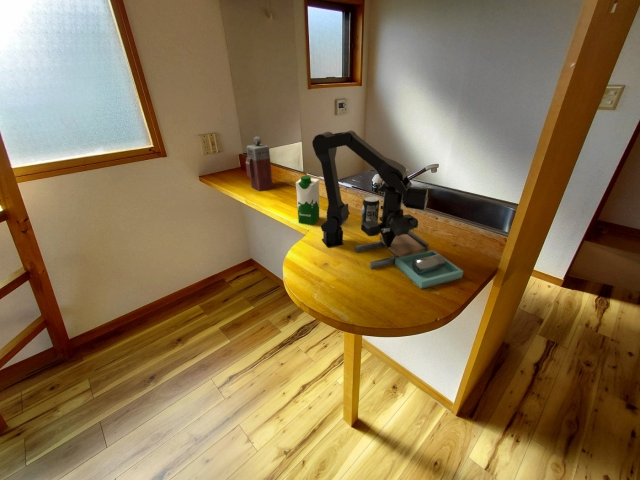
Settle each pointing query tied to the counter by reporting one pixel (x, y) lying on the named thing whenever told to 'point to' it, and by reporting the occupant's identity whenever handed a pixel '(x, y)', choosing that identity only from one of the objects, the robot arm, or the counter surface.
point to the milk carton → (308, 200)
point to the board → (404, 246)
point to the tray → (431, 277)
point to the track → (380, 244)
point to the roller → (428, 264)
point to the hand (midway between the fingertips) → (387, 247)
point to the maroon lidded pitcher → (259, 165)
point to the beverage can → (370, 209)
